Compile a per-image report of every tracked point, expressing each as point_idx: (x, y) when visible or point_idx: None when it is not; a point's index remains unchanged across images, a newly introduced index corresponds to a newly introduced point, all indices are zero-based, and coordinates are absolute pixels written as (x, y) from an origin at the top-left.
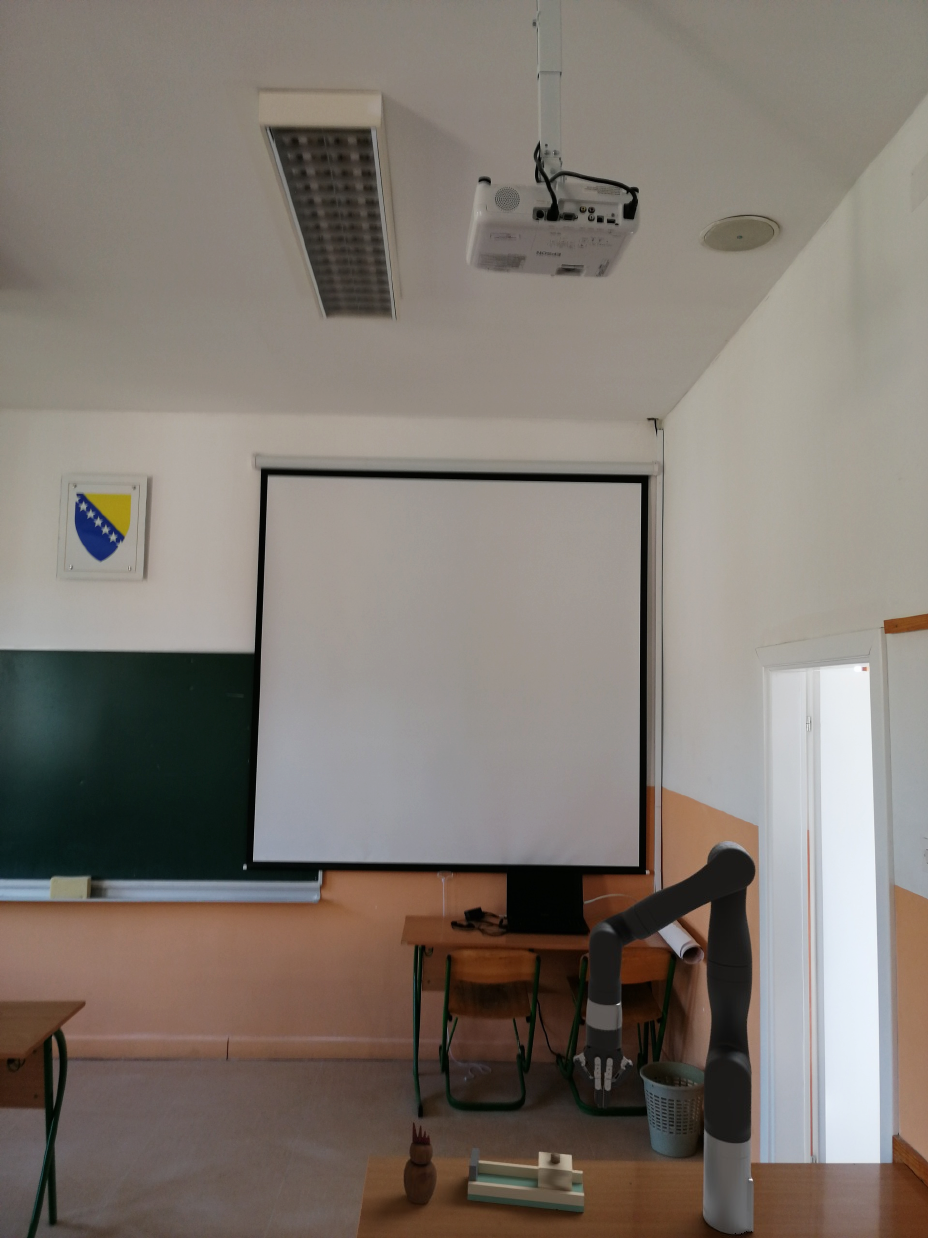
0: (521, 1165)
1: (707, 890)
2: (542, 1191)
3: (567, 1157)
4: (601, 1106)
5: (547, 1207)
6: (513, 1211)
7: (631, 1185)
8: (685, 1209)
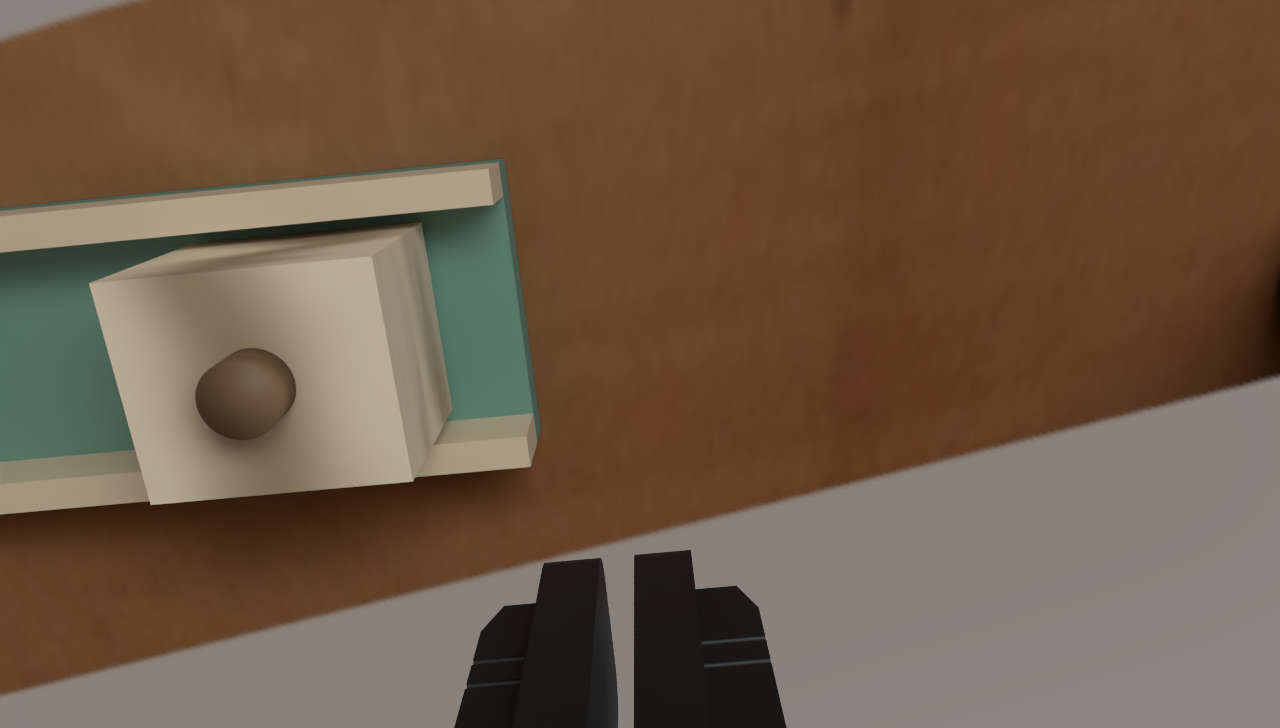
0: (22, 227)
1: None
2: None
3: (342, 306)
4: (617, 717)
5: None
6: (140, 518)
7: (847, 35)
8: (1182, 222)
